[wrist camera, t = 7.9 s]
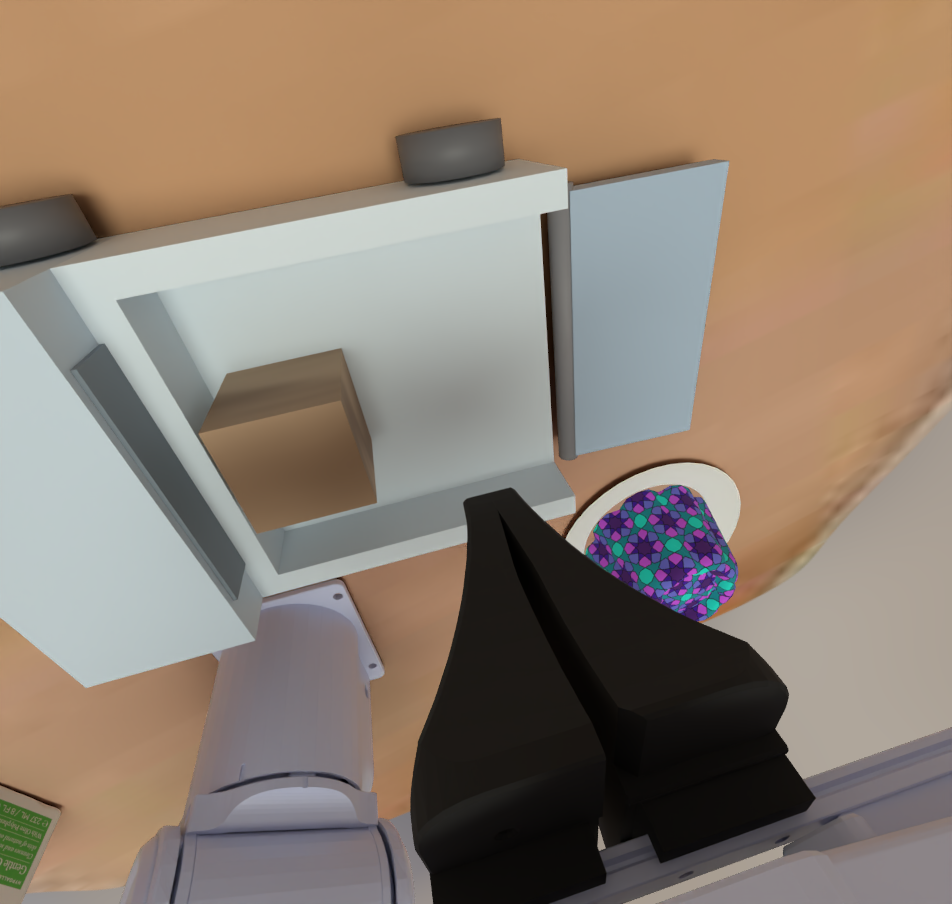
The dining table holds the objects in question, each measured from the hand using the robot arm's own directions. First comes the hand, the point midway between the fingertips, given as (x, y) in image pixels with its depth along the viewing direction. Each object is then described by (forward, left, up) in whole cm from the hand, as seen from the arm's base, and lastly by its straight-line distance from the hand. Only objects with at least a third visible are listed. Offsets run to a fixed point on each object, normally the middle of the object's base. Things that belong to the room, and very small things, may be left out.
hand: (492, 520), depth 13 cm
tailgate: (+1, -8, -8) cm, 12 cm away
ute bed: (+1, +5, -9) cm, 11 cm away
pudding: (-14, -11, -10) cm, 20 cm away
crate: (+1, +5, -7) cm, 9 cm away
